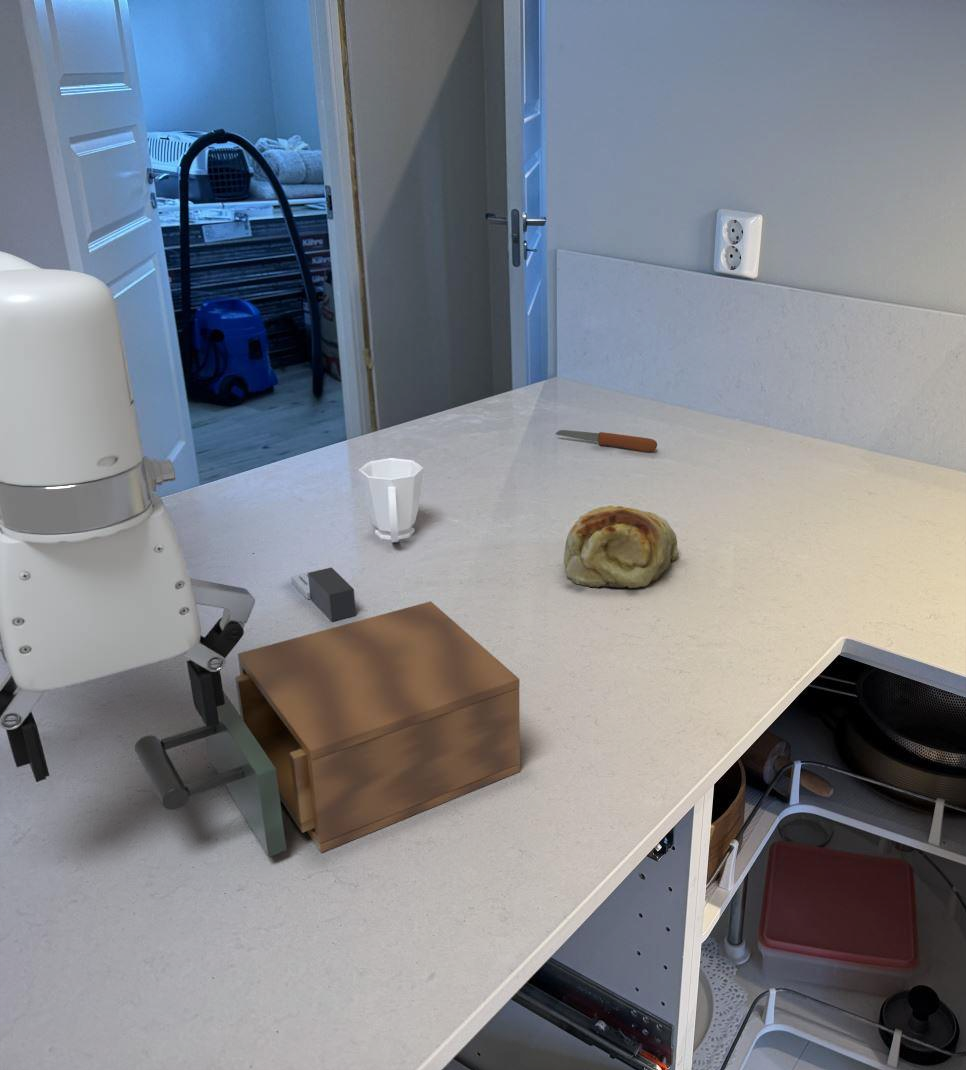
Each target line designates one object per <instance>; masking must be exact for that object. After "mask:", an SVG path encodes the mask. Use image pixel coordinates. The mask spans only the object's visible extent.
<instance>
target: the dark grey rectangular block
mask: <svg viewBox="0 0 966 1070" xmlns="http://www.w3.org/2000/svg"><path fill="white" fill-rule="evenodd" d="M290 578H291V580H290V581H291V584H292V585H293V586H294V587H295V588H296V589H297V590H298V591H299V592H300V593H301V594H302V595H303V596H304V598H305V599H306V600H311V602H312V603H314V604H315V605H316V607H317V608H318V609H319V610H320V611H321V612H322V613H323V614H324V616H326V617H327V618H328V619H329V620H330V622H332V623H333V622H337V621H341V620H344V619H349V618H352V617H355V616H357V611H356V599H355V589H354V587H353V586H351V585H350V584H349V582H347V581H346V580H345V579H344V578H343V576H341V575H340V574H339V573H338V572H337V571H336V570H335V569H334V568H333V567H327V568H322V569H317V570H314V571H307V572H306V573H300V574H298V575H297V574H295V575H291V577H290Z"/></svg>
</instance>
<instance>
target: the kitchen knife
mask: <svg viewBox="0 0 966 1070" xmlns="http://www.w3.org/2000/svg"><path fill="white" fill-rule="evenodd" d="M555 435H556V436H562V437H565V438H572V439H577V440H583V441H590V442H596V443H598V446H611V447H616V448H617V447H618V448H622V449H628V450H632V451H633V450H634V451H638V452H643V453H651V452H654V451H655V450H656V449H658V442H657V441H656V440H655V439H653V438H649V437H642V436H634V435H627V434H618V433H611V432H604V431H600V432H589V431H580V430H579V431H578V430H568V429H561V430H558V431H556V432H555Z"/></svg>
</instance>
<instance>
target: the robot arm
mask: <svg viewBox="0 0 966 1070" xmlns="http://www.w3.org/2000/svg"><path fill="white" fill-rule="evenodd" d="M121 326H122V325H121V320H120V314H119V310H118V307H117V302H116V299H115V297H114V294H113V293H112V291H111V289H110V288H109V287H108V286H107V285H106V283H104V281H102V280H101V279H99V278H98V277H95V276H94V275H91V274H88V273H84V272H79V271H76V270H70V269H69V270H68V269H67V270H66V269H55V268H53V269H52V268H42V267H40V266H38V265H35V264H33V263H31V262H30V261H27V260H25V259H23V258H21V257H19V256H16V255H14V254H11V253H8V252H5V251H0V652H1V655H2V658H3V660H4V662H5V663H6V665H7V667H8V670H9V673H8V674H7V676H6V677H5V678H4V680H3V682H2V683H1V684H0V728H1V729H4V730H5V731H6V735H7V739H8V742H9V746H10V750H11V754H12V757H13V761H14V763H15V767H16V768H20V767H24V766H26V765H29V766H30V769H31V771H32V774H33V777H34V779H35V782H36V783H39V782H41V781H44V780H47V777H49V776H50V771H49V768H48V764H47V760H46V755H45V752H44V749H43V745H42V740H41V737H40V736H41V735H40V733H39V729H38V726H37V723H36V720H35V717H34V714H33V713H32V711H33V708H35V706H36V704H37V703H38V702H39V701H40V699H41V698H42V697H43V695H44V694H45V692H49V691H55V690H60V689H63V688H68V687H71V686H74V685H79V684H83V683H86V682H90V681H95V680H98V679H101V678H105V677H109V676H112V675H113V676H114V675H116V674H120V673H124V672H127V671H130V670H135V669H138V668H142V667H146V666H149V665H153V664H157V663H161V662H163V661H168V660H170V659H174V658H176V657H179V656H182V657H184V658H186V659H187V660H186V665H187V669H188V670H187V671H188V677H189V683H190V690H191V694H192V695H191V696H192V700H193V705H194V708H195V710H196V712H197V713H198V715H199V717H200V718H201V720H202V719H203V721H204V723H205V724H206V726H210V727H213V726H216V725H219V718H218V712H217V706H221V705H224V704H225V700H224V694H223V691H224V687H223V681H222V676H221V671H222V670H223V668H224V667H225V665H226V658H227V657H228V656H229V654H230V653H231V652H232V651H233V650H234V648H235V647H236V645H237V644H238V643H239V642H240V640H241V639H242V638H243V636H244V634H245V631H244V628H245V626H246V624H247V623H248V620H249V618H250V616H251V613H252V611H253V608H254V606H255V604H256V599H255V597H254V596H253V594H251V592H250V591H249V590H248V589H247V588H244V587H240V586H239V587H238V586H234V585H229V584H223V583H217V582H213V581H209V580H202V579H196V578H191V577H190V575H189V571H188V568H187V564H186V561H185V557H184V552H183V549H182V547H181V544H180V541H179V538H178V534H177V532H176V528H175V526H174V524H173V522H172V518H171V517H170V514H169V512H168V510H167V507H166V505H165V503H164V501H163V499H162V497H160V495H157V494H155V493H154V492H157V487H159V486H163V484H164V483H169V482H175V481H176V472H175V467H174V464H173V462H172V460H171V459H169V458H168V459H162V460H157V459H156V458H155V459H153V458H152V459H150V458H149V457H148V456H147V455H145V454H144V449H143V448H144V447H143V443H142V437H141V431H140V426H139V421H138V415H137V409H136V404H135V397H134V393H133V387H132V382H131V376H130V369H129V365H128V359H127V354H126V348H125V343H124V342H125V341H124V337H123V332H122V327H121ZM198 605H200V606H208V607H213V608H218V609H219V608H220V609H223V611H222V616H220V618H219V619H218V620H217V622H216V623H215V624H214V625H213V626H212V628H211V629H210V630H209V631H208V632H207V634H206V635H204V634H203V633H202V630H201V621H200V620H201V619H200V616H199V615H200V614H199V611H198Z"/></svg>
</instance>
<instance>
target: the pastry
mask: <svg viewBox="0 0 966 1070" xmlns="http://www.w3.org/2000/svg"><path fill="white" fill-rule="evenodd" d="M678 554H679V553H678V538H677V535H676V532H675V531H674V529H673V528H672V527H671V525H670V523H669V522H668V521H667V520H666V519H665V518H664V517H662V516H660V515H658V514H657V513H654V512H652V511H651V512H650V511H646V510H640V509H638V508H632V507H626V506H622V505H620V506H615V505H607V506H600V507H597V508H594V509H592V510H590V511H588V512H586V513H585V514H583V515H580V516H579V518H578V520H576V521H575V522H574V524H573V525H572V527H571V529H570V531H569V532H568V534H567V538H566V540H565V546H564V554H563V565H564V567H565V574H566V578H568V579H570V580H571V583H574V584H576V585H580V586H585V587H586V586H588V587H590V588H599V587H600V588H601V587H608V588H609V587H611V588H616V589H617V588H618V589H620V588H625V587H627V588H629V589H633V588H634V589H637V588H641V587H643V588H645V587H646V586H649V584H651V583H653V582H655V581H656V580H659V578H660V577H661V576H663V574H664V572H665V571H667V570H668V568H669V566H670V564H671V562H675V560H676V559H677V558H678Z"/></svg>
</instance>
